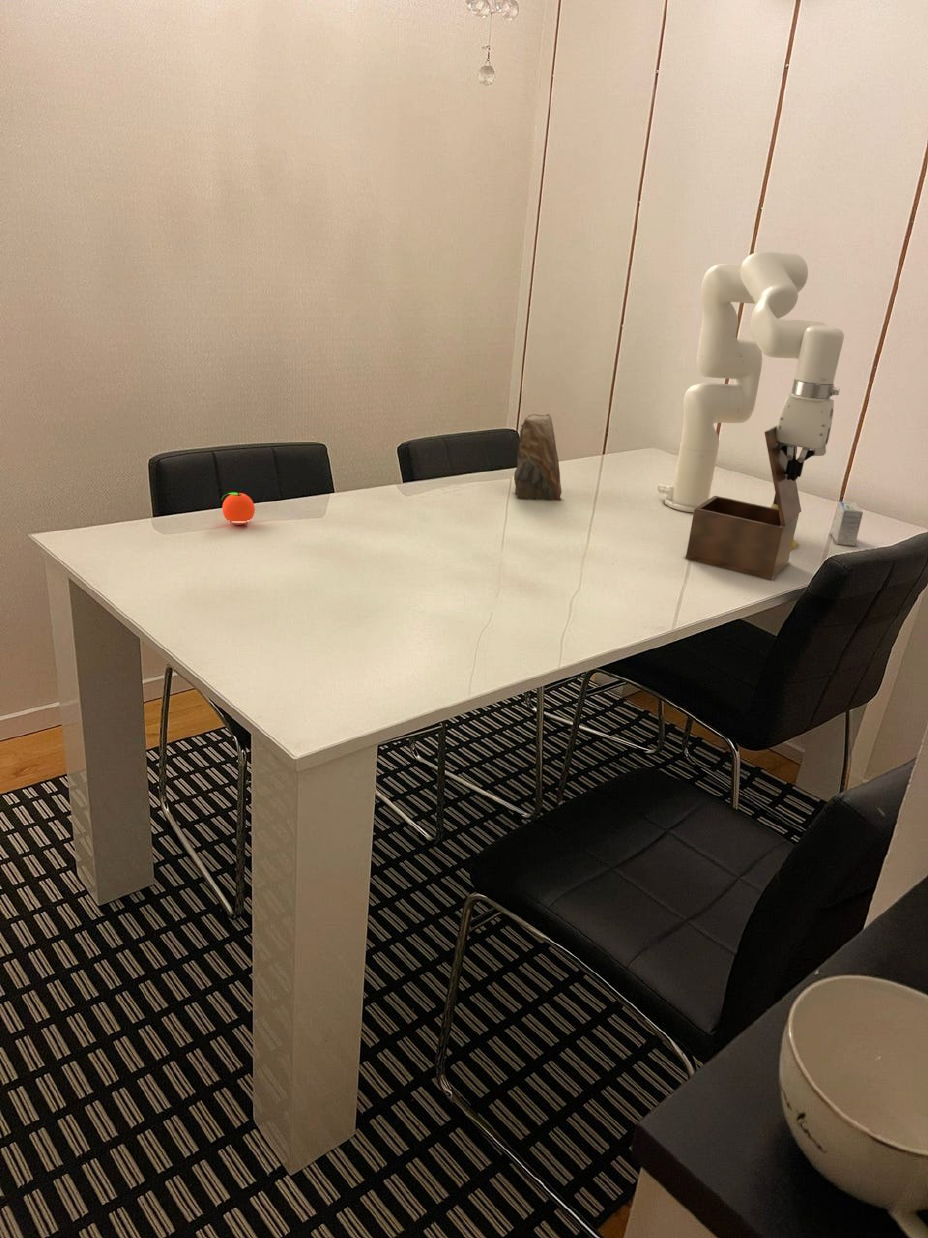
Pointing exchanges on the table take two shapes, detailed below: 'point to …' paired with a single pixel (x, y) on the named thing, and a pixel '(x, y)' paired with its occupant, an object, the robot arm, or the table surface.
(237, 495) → the clementine
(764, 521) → the chest
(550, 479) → the brown rock
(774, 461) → the lid
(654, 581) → the table surface
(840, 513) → the medicine box
